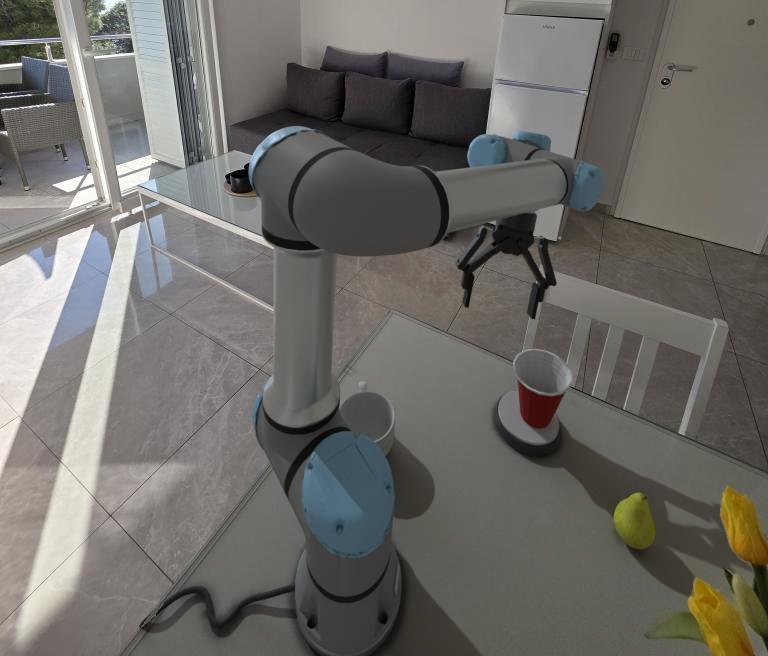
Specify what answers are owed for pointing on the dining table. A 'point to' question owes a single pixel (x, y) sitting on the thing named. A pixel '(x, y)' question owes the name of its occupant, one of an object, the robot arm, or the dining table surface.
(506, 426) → the scale
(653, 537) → the fruit
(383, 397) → the teacup
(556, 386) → the plastic cup
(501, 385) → the dining table surface
